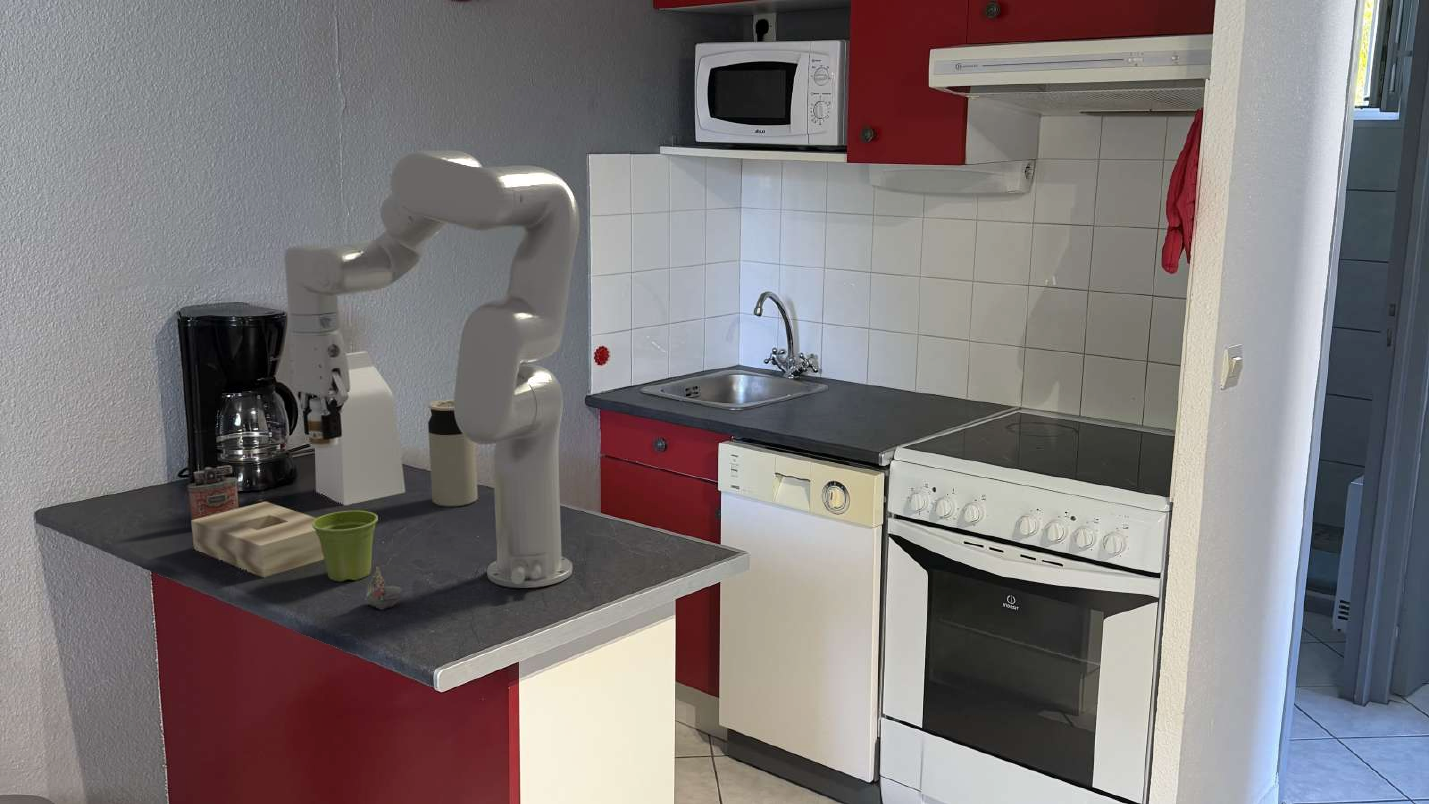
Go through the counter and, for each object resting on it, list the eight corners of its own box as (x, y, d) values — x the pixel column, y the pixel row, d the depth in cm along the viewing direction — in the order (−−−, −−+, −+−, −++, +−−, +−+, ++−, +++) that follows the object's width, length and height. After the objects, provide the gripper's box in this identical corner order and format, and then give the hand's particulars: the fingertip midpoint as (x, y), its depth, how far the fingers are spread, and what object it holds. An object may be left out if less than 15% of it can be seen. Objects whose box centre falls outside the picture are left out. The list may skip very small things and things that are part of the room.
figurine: (408, 598, 175) (399, 558, 173) (399, 611, 170) (389, 570, 169) (372, 603, 175) (363, 564, 174) (362, 616, 171) (352, 576, 169)
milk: (344, 505, 220) (334, 362, 214) (316, 492, 228) (305, 353, 222) (405, 492, 227) (396, 353, 222) (375, 480, 236) (366, 346, 230)
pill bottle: (304, 448, 198) (300, 401, 196) (319, 441, 202) (316, 395, 200) (328, 449, 196) (325, 402, 195) (343, 443, 201) (340, 396, 199)
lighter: (195, 531, 205) (189, 474, 203) (188, 527, 208) (183, 469, 206) (244, 522, 210) (238, 465, 208) (237, 517, 213) (232, 461, 211)
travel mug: (486, 498, 223) (482, 401, 219) (456, 510, 216) (451, 410, 213) (453, 492, 227) (448, 397, 223) (423, 503, 220) (417, 405, 216)
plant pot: (349, 590, 178) (344, 533, 176) (302, 579, 183) (298, 523, 181) (394, 570, 186) (391, 515, 184) (349, 560, 191) (345, 507, 189)
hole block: (338, 554, 193) (336, 524, 192) (263, 577, 184) (260, 545, 182) (268, 530, 206) (265, 501, 205) (194, 550, 196) (191, 520, 195)
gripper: (366, 325, 192) (373, 439, 196) (306, 316, 203) (314, 424, 207) (323, 331, 187) (332, 448, 191) (264, 321, 197) (274, 432, 201)
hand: (323, 434), depth 199 cm, fingers closed on pill bottle, 4 cm apart
